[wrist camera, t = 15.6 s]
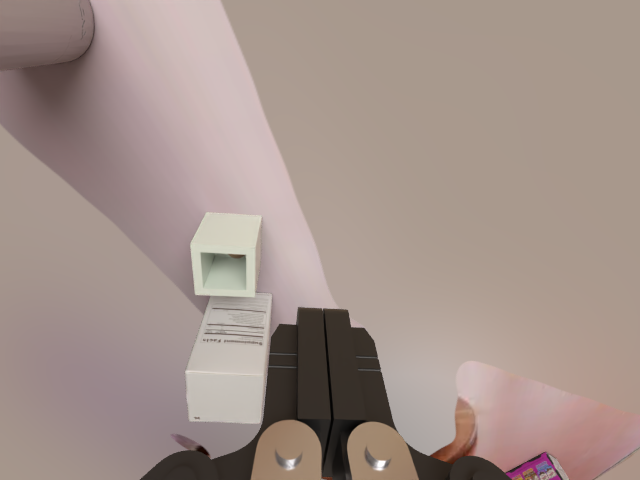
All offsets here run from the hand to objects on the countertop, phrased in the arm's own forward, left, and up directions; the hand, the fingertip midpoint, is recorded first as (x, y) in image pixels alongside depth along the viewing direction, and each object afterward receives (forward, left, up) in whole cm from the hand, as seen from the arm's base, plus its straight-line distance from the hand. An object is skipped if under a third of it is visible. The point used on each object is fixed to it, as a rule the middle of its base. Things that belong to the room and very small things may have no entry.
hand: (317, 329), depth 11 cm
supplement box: (-7, -30, -34) cm, 46 cm away
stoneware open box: (-8, -17, -34) cm, 39 cm away
